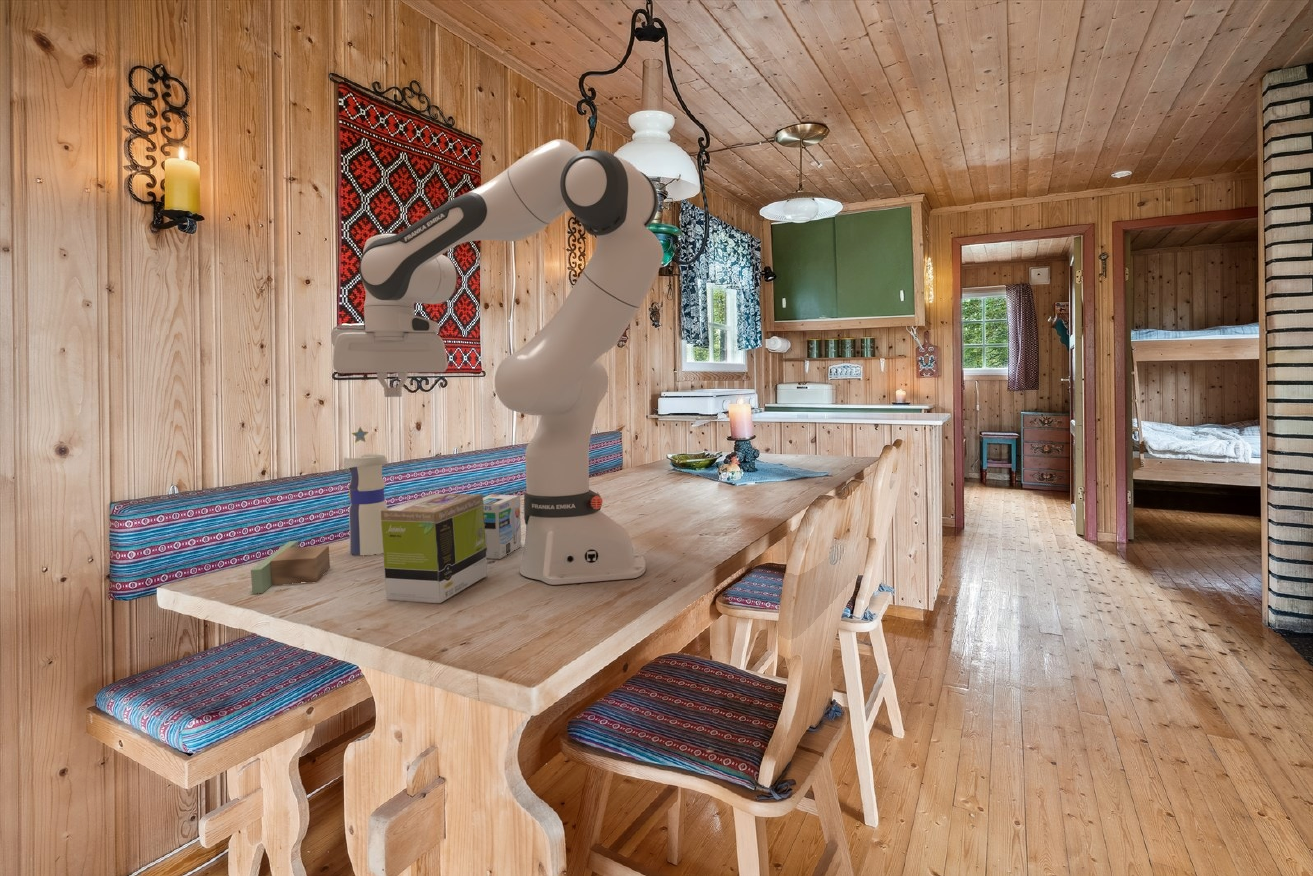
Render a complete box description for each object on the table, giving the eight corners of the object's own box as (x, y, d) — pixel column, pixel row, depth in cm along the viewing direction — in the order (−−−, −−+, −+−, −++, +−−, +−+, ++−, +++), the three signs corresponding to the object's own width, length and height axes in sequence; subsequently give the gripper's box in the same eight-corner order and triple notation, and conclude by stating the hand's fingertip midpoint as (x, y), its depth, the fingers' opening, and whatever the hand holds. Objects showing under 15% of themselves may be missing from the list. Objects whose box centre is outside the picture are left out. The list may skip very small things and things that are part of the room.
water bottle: (336, 553, 136) (330, 428, 134) (373, 544, 144) (367, 425, 142) (364, 558, 132) (357, 429, 130) (400, 548, 140) (394, 426, 137)
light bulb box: (500, 560, 130) (498, 504, 129) (468, 558, 132) (465, 503, 131) (522, 546, 141) (521, 494, 140) (492, 545, 142) (490, 493, 141)
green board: (298, 561, 131) (297, 541, 130) (262, 593, 111) (260, 569, 111) (290, 562, 130) (288, 541, 130) (252, 594, 111) (250, 570, 111)
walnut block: (330, 569, 126) (328, 545, 125) (316, 584, 117) (315, 558, 117) (288, 572, 124) (287, 548, 124) (271, 587, 116) (270, 560, 115)
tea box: (437, 573, 121) (434, 491, 120) (488, 577, 119) (485, 493, 118) (383, 600, 107) (378, 507, 106) (440, 605, 104) (436, 509, 103)
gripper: (326, 321, 124) (330, 398, 125) (443, 322, 128) (446, 396, 130) (334, 324, 130) (338, 397, 131) (446, 325, 135) (449, 395, 136)
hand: (393, 396), depth 131 cm, fingers closed
